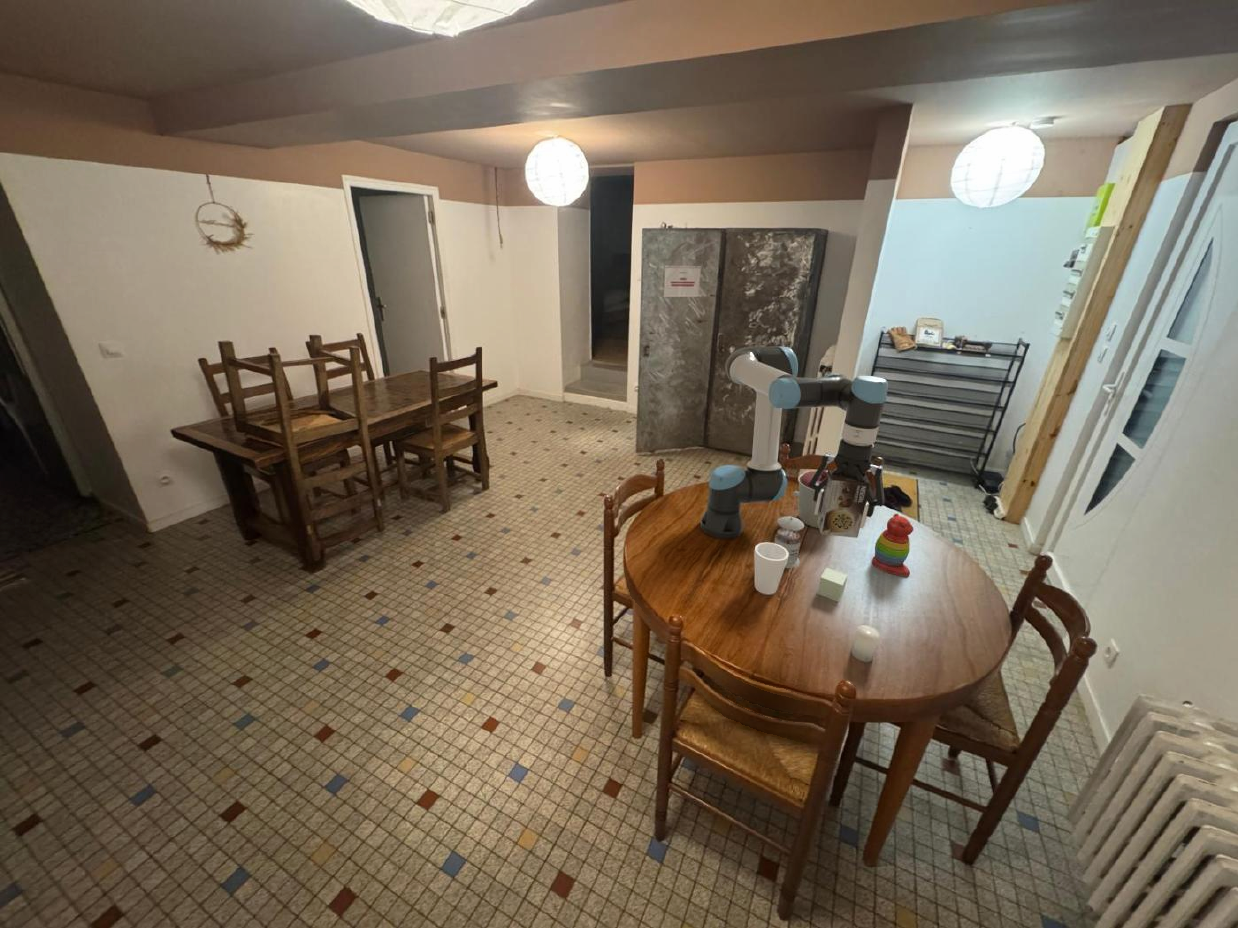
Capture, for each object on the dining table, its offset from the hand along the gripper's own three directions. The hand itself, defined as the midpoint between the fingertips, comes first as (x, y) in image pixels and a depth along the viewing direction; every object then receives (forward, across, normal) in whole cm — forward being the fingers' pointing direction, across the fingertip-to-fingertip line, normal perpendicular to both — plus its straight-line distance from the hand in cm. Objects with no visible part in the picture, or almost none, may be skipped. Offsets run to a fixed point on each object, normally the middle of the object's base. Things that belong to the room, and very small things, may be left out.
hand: (839, 519), depth 123 cm
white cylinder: (+28, +14, -13) cm, 34 cm away
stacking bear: (+28, +12, +33) cm, 45 cm away
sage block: (+28, +1, +7) cm, 29 cm away
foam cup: (+28, -15, -3) cm, 32 cm away
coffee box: (+4, 0, 0) cm, 4 cm away
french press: (+28, -16, +16) cm, 36 cm away
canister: (+28, -15, +47) cm, 57 cm away
